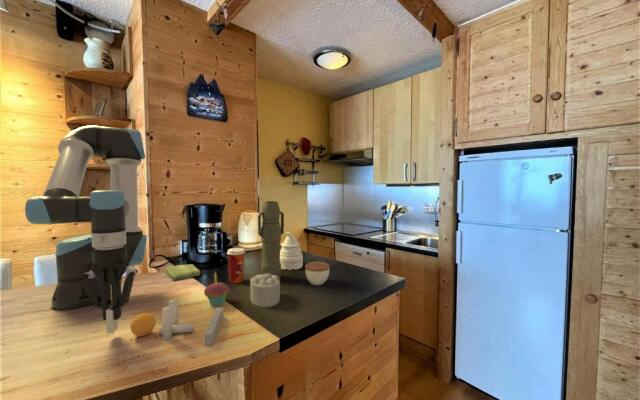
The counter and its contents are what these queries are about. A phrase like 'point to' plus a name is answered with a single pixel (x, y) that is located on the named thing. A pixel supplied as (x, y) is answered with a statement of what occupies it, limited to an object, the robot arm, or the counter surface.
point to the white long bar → (213, 326)
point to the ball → (143, 324)
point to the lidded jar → (317, 272)
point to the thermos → (271, 237)
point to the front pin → (179, 328)
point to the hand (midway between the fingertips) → (112, 330)
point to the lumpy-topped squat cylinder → (265, 290)
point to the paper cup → (236, 264)
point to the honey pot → (291, 253)
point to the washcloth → (182, 271)
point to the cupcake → (216, 292)
